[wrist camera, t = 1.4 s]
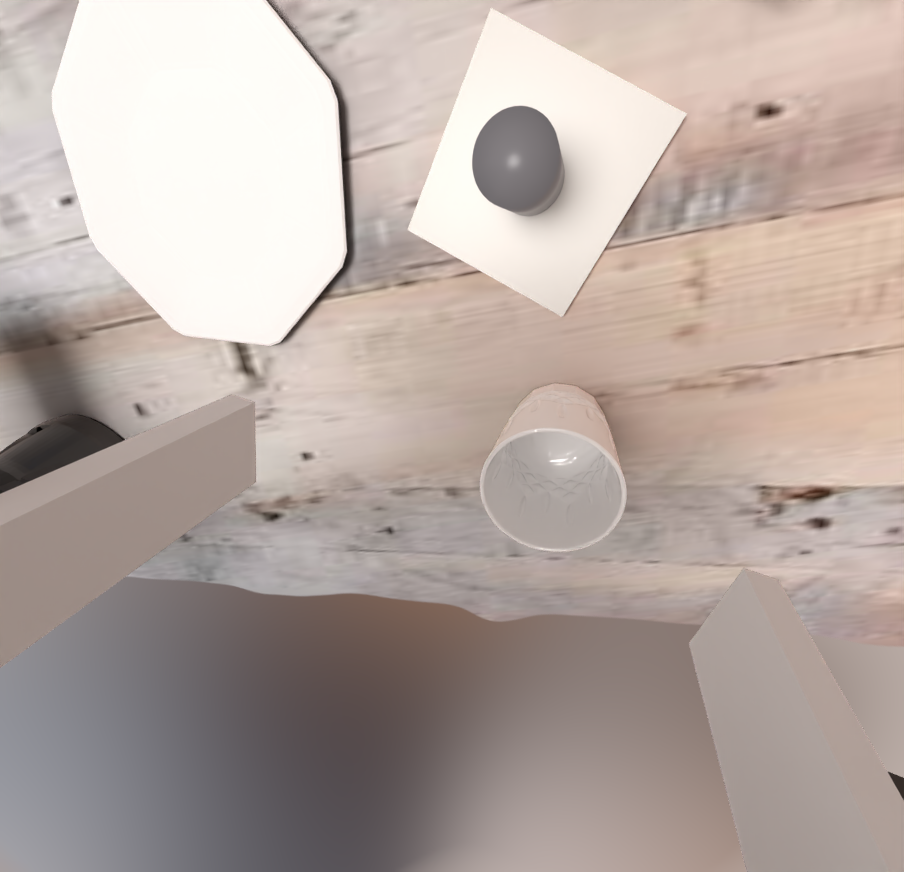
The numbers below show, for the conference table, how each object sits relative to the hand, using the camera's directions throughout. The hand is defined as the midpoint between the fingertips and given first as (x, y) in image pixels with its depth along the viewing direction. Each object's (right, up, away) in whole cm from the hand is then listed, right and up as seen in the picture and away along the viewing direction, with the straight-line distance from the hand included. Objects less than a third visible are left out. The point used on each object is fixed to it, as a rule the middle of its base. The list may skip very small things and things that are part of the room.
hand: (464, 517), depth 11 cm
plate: (-19, +22, +21) cm, 35 cm away
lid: (+5, +18, +15) cm, 24 cm away
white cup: (+8, +3, +21) cm, 22 cm away
